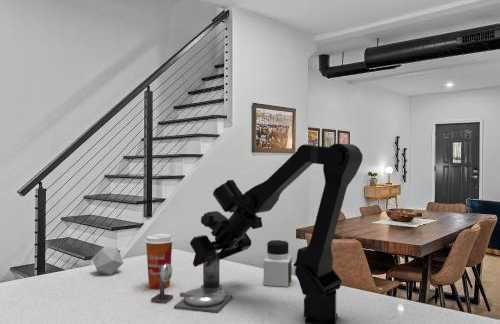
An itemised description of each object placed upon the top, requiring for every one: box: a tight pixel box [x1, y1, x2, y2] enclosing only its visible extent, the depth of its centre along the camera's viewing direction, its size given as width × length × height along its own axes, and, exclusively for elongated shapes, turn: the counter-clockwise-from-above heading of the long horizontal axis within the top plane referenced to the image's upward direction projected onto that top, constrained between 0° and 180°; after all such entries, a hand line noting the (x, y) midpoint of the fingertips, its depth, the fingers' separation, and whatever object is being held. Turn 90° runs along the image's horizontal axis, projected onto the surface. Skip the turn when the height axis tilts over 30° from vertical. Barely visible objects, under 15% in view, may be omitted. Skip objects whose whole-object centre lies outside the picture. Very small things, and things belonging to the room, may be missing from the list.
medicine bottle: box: [263, 239, 293, 288], centre depth 121 cm, size 7×7×12 cm
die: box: [91, 246, 124, 276], centre depth 132 cm, size 8×9×10 cm
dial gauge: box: [150, 264, 174, 304], centre depth 107 cm, size 4×4×9 cm
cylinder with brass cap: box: [200, 251, 223, 291], centre depth 115 cm, size 6×6×10 cm
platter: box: [179, 287, 226, 306], centre depth 105 cm, size 11×10×1 cm
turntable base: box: [173, 294, 234, 314], centre depth 105 cm, size 11×11×1 cm
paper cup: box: [144, 233, 174, 290], centre depth 118 cm, size 8×8×14 cm
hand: (206, 261), depth 116 cm, fingers open, 9 cm apart
